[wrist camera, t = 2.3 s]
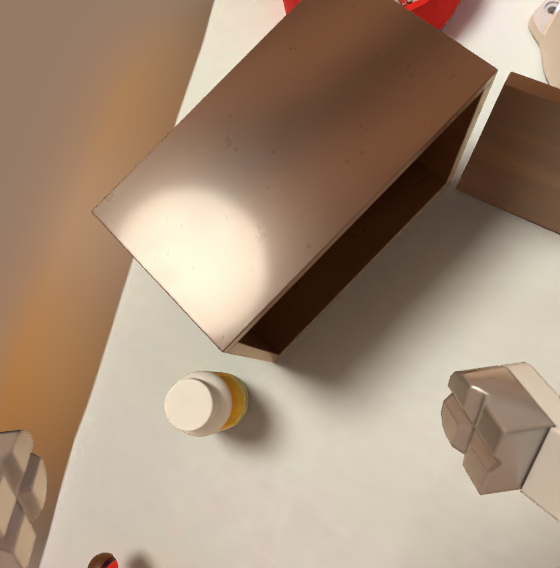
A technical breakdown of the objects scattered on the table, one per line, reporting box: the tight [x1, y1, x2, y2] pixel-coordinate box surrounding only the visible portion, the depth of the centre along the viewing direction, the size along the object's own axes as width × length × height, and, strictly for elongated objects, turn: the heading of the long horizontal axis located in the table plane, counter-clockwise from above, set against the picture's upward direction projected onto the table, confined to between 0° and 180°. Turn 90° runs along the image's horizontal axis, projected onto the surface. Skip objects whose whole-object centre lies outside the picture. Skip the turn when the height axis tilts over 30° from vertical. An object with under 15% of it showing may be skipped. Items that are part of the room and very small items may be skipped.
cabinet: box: [92, 0, 498, 363], centre depth 40 cm, size 14×25×17 cm, turn 135°
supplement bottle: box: [165, 371, 249, 437], centre depth 41 cm, size 5×5×10 cm
